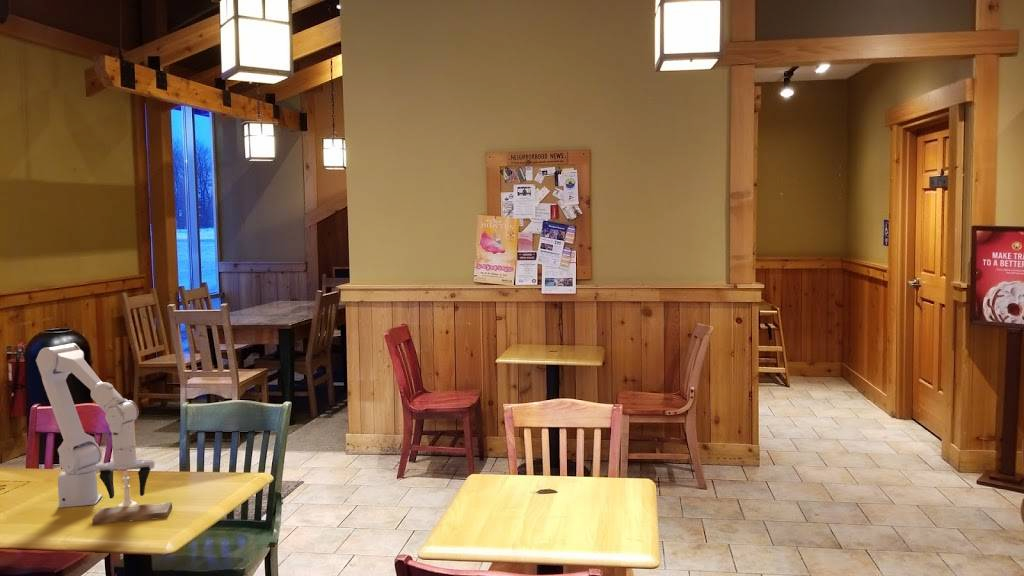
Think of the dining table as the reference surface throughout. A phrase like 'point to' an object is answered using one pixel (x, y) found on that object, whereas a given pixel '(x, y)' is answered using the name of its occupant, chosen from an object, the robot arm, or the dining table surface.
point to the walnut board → (132, 513)
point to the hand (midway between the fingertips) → (127, 496)
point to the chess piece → (126, 492)
